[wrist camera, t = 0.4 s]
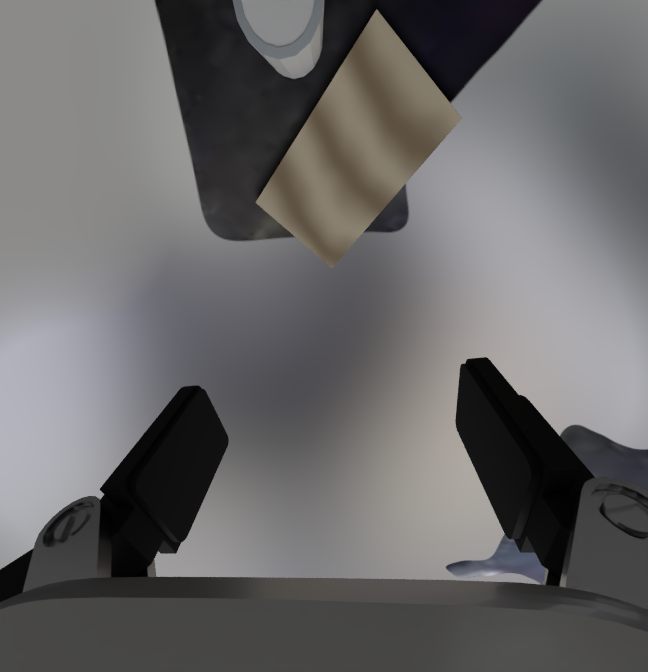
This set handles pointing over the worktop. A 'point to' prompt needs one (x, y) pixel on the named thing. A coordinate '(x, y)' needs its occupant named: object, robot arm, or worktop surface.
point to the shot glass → (284, 32)
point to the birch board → (358, 144)
